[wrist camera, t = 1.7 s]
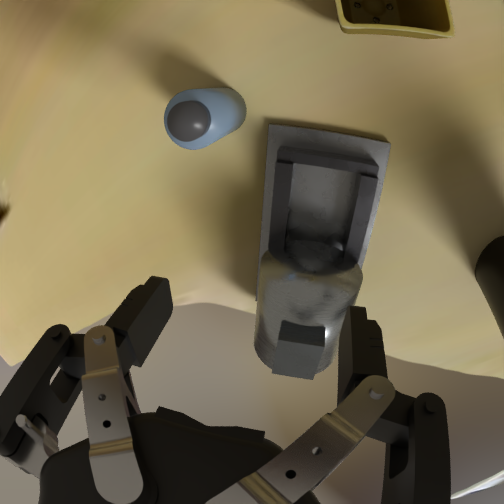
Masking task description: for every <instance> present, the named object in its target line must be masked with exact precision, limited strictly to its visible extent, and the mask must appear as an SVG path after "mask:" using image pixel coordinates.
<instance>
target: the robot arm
mask: <svg viewBox="0 0 504 504" xmlns="http://www.w3.org/2000/svg"><path fill="white" fill-rule="evenodd" d="M172 310H173V302H172V296H171V291H170V285H169V281H168V279H167V278H162V277H157V276H151V277H150V278H149V279H148V280H147V282H146V283H145V284H144V285H139V286H137V287H136V288H134V289H133V290H131V292H130V293H129V294H128V295H127V297H126V299H124V301H123V302H122V303H121V305H120V306H119V307H118V308H117V309H116V311H115V312H114V313H113V315H112V316H111V317H110V319H109V320H108V321H107V322H106V324H105V325H104V326H103V325H101V326H96V327H93V328H91V329H90V330H89V331H88V332H87V333H86V334H71V332H70V330H69V328H68V327H67V326H66V325H63V324H57V325H54V326H52V327H50V328H49V329H48V330H47V331H46V332H45V333H44V335H43V336H42V337H41V339H40V340H39V341H38V343H37V344H36V345H35V347H34V348H33V349H32V351H31V352H30V353H29V355H28V356H27V358H26V359H25V360H24V362H23V363H22V365H21V366H20V368H19V369H18V370H17V372H16V373H15V375H14V376H13V378H12V379H11V381H10V382H9V384H8V385H7V387H6V388H5V390H4V391H3V393H2V395H1V396H0V455H1V456H2V457H3V458H5V459H6V460H8V461H9V462H10V463H12V464H13V465H14V466H16V467H19V468H20V469H22V470H23V471H25V472H26V473H28V474H33V475H34V476H35V477H37V478H39V479H40V497H39V503H38V504H320V502H319V501H318V499H317V498H316V496H315V495H314V493H313V492H312V490H314V489H315V488H316V487H317V486H318V485H319V484H320V483H321V482H322V481H323V480H324V479H326V477H328V476H329V474H331V473H332V471H333V470H335V468H336V467H337V466H338V465H339V464H340V463H341V462H342V461H343V460H344V459H345V458H346V457H347V456H348V455H349V454H350V453H351V452H352V451H353V450H354V448H355V447H356V446H357V445H358V444H359V443H360V442H361V441H362V440H363V439H364V437H365V436H367V437H370V438H373V439H376V440H379V441H382V442H385V443H386V453H385V469H384V480H383V490H382V499H381V504H450V500H451V473H450V472H451V471H450V449H449V436H448V424H447V415H446V408H445V404H444V402H443V400H442V399H441V398H440V397H439V396H438V395H435V394H434V393H422V394H420V395H419V396H418V397H417V398H414V397H411V396H408V395H405V394H402V393H400V392H398V391H397V390H395V388H394V386H393V384H392V383H391V382H390V381H389V380H388V376H387V368H386V360H385V352H384V344H383V341H382V340H383V337H382V331H381V328H380V327H379V325H378V324H377V322H376V320H367V313H366V308H365V307H359V306H350V305H349V306H348V307H347V311H346V314H345V317H344V321H343V324H342V328H341V331H340V336H339V351H338V352H339V353H338V354H339V355H338V356H339V357H338V358H339V359H338V363H339V364H338V396H337V397H338V398H337V408H336V409H335V410H333V411H332V412H331V413H327V414H325V415H324V416H323V417H321V418H320V419H319V420H318V421H317V422H316V423H315V424H314V425H313V426H311V427H310V428H309V429H308V430H307V431H306V432H305V433H303V434H302V435H301V436H300V437H299V438H298V439H296V440H295V441H294V442H293V443H292V444H291V445H289V446H288V447H287V448H286V449H285V450H283V449H282V448H281V447H280V446H278V445H277V444H275V443H274V442H272V441H270V440H268V439H265V438H264V435H265V431H259V430H254V429H249V428H243V427H238V426H233V427H232V426H231V427H230V426H226V427H224V426H220V427H219V426H206V425H204V424H202V423H200V422H198V421H196V420H195V419H192V418H191V417H189V416H187V415H185V414H184V413H180V412H177V411H173V410H170V409H167V408H164V407H160V406H159V407H158V409H157V411H156V412H150V413H141V411H140V408H139V405H138V402H137V398H136V394H135V390H134V386H133V382H132V378H131V373H130V370H129V369H130V368H131V366H132V365H135V366H138V367H141V366H142V365H143V363H144V361H145V359H146V358H147V356H148V354H149V352H150V351H151V349H152V347H153V346H154V344H155V342H156V340H157V339H158V337H159V335H160V334H161V332H162V330H163V328H164V327H165V325H166V323H167V322H168V320H169V318H170V317H171V314H172ZM58 366H59V367H60V368H61V369H60V371H59V372H58V374H57V375H56V377H55V378H54V380H53V382H52V383H51V385H50V379H51V377H52V376H53V374H54V373H55V371H56V369H57V368H58ZM81 390H82V391H83V400H84V409H85V416H86V423H87V429H88V436H89V438H87V439H85V440H83V441H81V442H78V443H76V444H74V445H72V446H70V447H68V448H65V449H63V450H61V451H59V447H58V438H57V435H58V433H59V431H60V429H61V427H62V425H63V423H64V421H65V419H66V418H67V415H68V414H69V412H70V410H71V408H72V406H73V405H74V403H75V401H76V399H77V397H78V395H79V394H80V392H81Z"/></svg>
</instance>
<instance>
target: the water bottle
mask: <svg viewBox="0 0 504 504" xmlns="http://www.w3.org/2000/svg"><path fill="white" fill-rule="evenodd" d="M475 275H476V280H477V282H478V284H479V286H480V288H481V290H482V292H483V294H484V296H485V298H486V300H487V302H488V304H489V306H490V308H491V311H492V313H493V315H494V317H495V319H496V322H497V324H498V326H499V329H500V331H501V333H502V336H503V338H504V236H501V237H499V238H497V239H495V240H493V241H492V242H491V243H490V244H489V245H488V246H487V247H486V248H485V249H484V250H483V252H482V253H481V255H480V257H479V259H478V261H477V265H476V270H475Z"/></svg>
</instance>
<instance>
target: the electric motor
mask: <svg viewBox="0 0 504 504" xmlns="http://www.w3.org/2000/svg"><path fill="white" fill-rule="evenodd" d="M390 146H391V144H390V143H389V142H386V141H381V140H377V139H372V138H367V137H362V136H357V135H351V134H346V133H340V132H334V131H328V130H321V129H314V128H307V127H299V126H291V125H282V124H273V123H270V124H269V129H268V143H267V157H266V171H265V185H264V198H263V211H262V224H261V238H260V250H259V263H258V276H257V288H256V301H257V309H256V321H255V332H254V347H255V351H256V353H257V355H258V357H259V358H260V359H261V361H262V362H263V363H264V364H265V365H267V366H268V367H269V368H271V369H272V373H274V374H279V375H285V376H291V377H297V378H304V379H310V380H313V378H314V375H315V374H317V373H319V372H321V371H323V370H325V369H326V368H327V367H328V366H329V365H330V364H331V363H332V362H333V360H334V358H335V356H336V353H337V351H338V349H339V336H340V331H341V328H342V324H343V321H344V317H345V314H346V311H347V307H348V306H349V305H350V306H354V305H355V302H356V299H357V296H358V293H359V290H360V287H361V284H362V280H363V274H362V270H361V269H362V265H363V262H364V258H365V255H366V251H367V248H368V244H369V240H370V237H371V233H372V229H373V225H374V221H375V217H376V213H377V209H378V205H379V200H380V196H381V191H382V187H383V182H384V177H385V172H386V167H387V162H388V157H389V152H390Z"/></svg>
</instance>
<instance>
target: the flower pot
mask: <svg viewBox="0 0 504 504" xmlns="http://www.w3.org/2000/svg"><path fill="white" fill-rule="evenodd" d="M355 3H359V4H360V7H359V8H356V7H355ZM335 4H336V9H337V15H338V20H339V24H340V28H341V30H342V31H343V32H344V33H346V34H380V35H396V36H405V37H413V38H421V39H437V38H452V37H454V36H455V28H454V22H453V17H452V13H451V9H450V4H449V0H335ZM387 5H391V6H392V9H391V10H390V9H388V8H387ZM374 18H378V19H379V22H378V23H376V22H374Z"/></svg>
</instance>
